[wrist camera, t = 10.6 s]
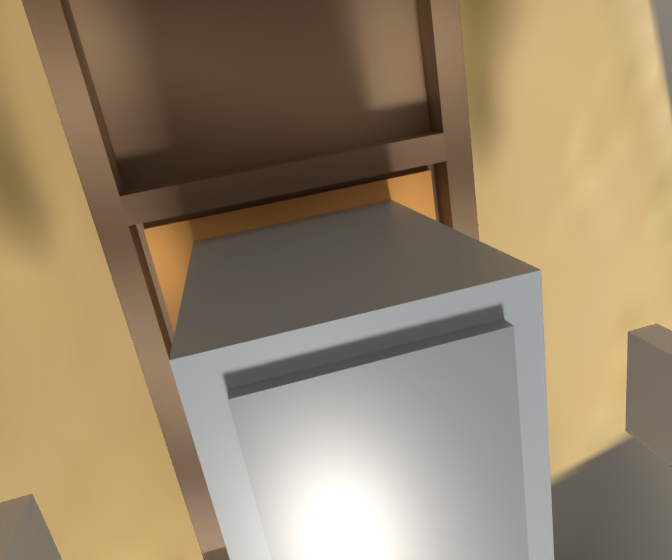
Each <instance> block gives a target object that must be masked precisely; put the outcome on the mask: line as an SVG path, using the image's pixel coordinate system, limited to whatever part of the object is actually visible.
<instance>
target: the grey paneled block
mask: <svg viewBox="0 0 672 560" xmlns="http://www.w3.org/2000/svg"><path fill="white" fill-rule="evenodd" d="M169 362H170V365H171V369H172V372H173V375H174V378H175V382H176V385H177V388H178V392H179V395H180V398H181V401H182V405H183V408H184V411H185V415H186V418H187V421H188V424H189V428H190V431H191V434H192V438H193V441H194V444H195V447H196V451H197V454H198V457H199V460H200V464H201V467H202V470H203V474H204V477H205V480H206V483H207V487H208V490H209V493H210V497H211V500H212V503H213V506H214V510H215V513H216V516H217V519H218V523H219V526H220V529H221V533H222V536H223V539H224V542H225V546H226V549H227V552H228V556H229V559H230V560H554V550H553V527H552V504H551V481H550V459H549V437H548V414H547V392H546V370H545V348H544V325H543V303H542V281H541V270H540V269H538V268H535V267H533V266H531V265H529V264H527V263H525V262H523V261H521V260H518V259H516V258H514V257H512V256H510V255H508V254H506V253H504V252H501V251H499V250H497V249H495V248H493V247H491V246H489V245H487V244H484V243H482V242H480V241H478V240H476V239H474V238H472V237H470V236H467V235H465V234H463V233H461V232H459V231H457V230H455V229H453V228H451V227H448V226H446V225H444V224H442V223H440V222H438V221H436V220H434V219H431V218H429V217H427V216H425V215H423V214H421V213H419V212H417V211H414V210H412V209H410V208H408V207H406V206H404V205H402V204H400V203H397V202H395V201H393V200H387V201H382V202H377V203H372V204H368V205H363V206H358V207H354V208H349V209H344V210H339V211H335V212H330V213H325V214H321V215H316V216H311V217H306V218H302V219H297V220H292V221H288V222H283V223H278V224H273V225H269V226H264V227H259V228H255V229H250V230H245V231H240V232H236V233H231V234H226V235H222V236H217V237H212V238H207V239H203V240H198V241H194V242H193V247H192V251H191V256H190V261H189V266H188V271H187V276H186V281H185V285H184V290H183V295H182V300H181V305H180V310H179V315H178V319H177V324H176V329H175V334H174V339H173V344H172V349H171V353H170V358H169Z"/></svg>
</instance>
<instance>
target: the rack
mask: <svg viewBox="0 0 672 560" xmlns="http://www.w3.org/2000/svg"><path fill="white" fill-rule="evenodd" d="M22 3H23V6H24V9H25V12H26V15H27V18H28V21H29V24H30V27H31V30H32V33H33V36H34V39H35V43H36V46H37V49H38V52H39V55H40V58H41V61H42V64H43V67H44V70H45V73H46V76H47V79H48V82H49V85H50V89H51V92H52V95H53V98H54V101H55V104H56V107H57V110H58V113H59V116H60V119H61V122H62V125H63V128H64V132H65V135H66V138H67V141H68V144H69V147H70V150H71V153H72V156H73V159H74V162H75V165H76V168H77V171H78V175H79V178H80V181H81V184H82V187H83V190H84V193H85V196H86V199H87V202H88V205H89V208H90V211H91V214H92V217H93V221H94V224H95V227H96V230H97V233H98V236H99V239H100V242H101V245H102V248H103V251H104V254H105V257H106V260H107V264H108V267H109V270H110V273H111V276H112V279H113V282H114V285H115V288H116V291H117V294H118V297H119V300H120V303H121V307H122V310H123V313H124V316H125V319H126V322H127V325H128V328H129V331H130V334H131V337H132V340H133V343H134V346H135V350H136V353H137V356H138V359H139V362H140V365H141V368H142V371H143V374H144V377H145V380H146V383H147V386H148V389H149V392H150V396H151V399H152V402H153V405H154V408H155V411H156V414H157V417H158V420H159V423H160V426H161V429H162V432H163V435H164V439H165V442H166V445H167V448H168V451H169V454H170V457H171V460H172V463H173V466H174V469H175V472H176V475H177V478H178V482H179V485H180V488H181V491H182V494H183V497H184V500H185V503H186V506H187V509H188V512H189V515H190V518H191V521H192V524H193V528H194V531H195V534H196V537H197V540H198V543H199V546H200V549H201V552H202V555H203V558H204V560H230V559H229V556H228V552H227V549H226V546H225V542H224V539H223V536H222V533H221V529H220V526H219V523H218V519H217V516H216V513H215V510H214V506H213V503H212V500H211V497H210V493H209V490H208V487H207V483H206V480H205V477H204V474H203V470H202V467H201V464H200V460H199V457H198V454H197V451H196V447H195V444H194V441H193V438H192V434H191V431H190V428H189V424H188V421H187V418H186V415H185V411H184V408H183V405H182V401H181V398H180V395H179V392H178V388H177V385H176V382H175V378H174V375H173V372H172V369H171V365H170V362H169V358H170V353H171V349H172V344H173V339H174V334H175V329H176V324H177V319H178V315H179V310H180V305H181V300H182V295H183V290H184V285H185V281H186V276H187V271H188V266H189V261H190V256H191V251H192V247H193V242H194V241H198V240H203V239H207V238H212V237H217V236H222V235H226V234H231V233H236V232H240V231H245V230H250V229H255V228H259V227H264V226H269V225H273V224H278V223H283V222H288V221H292V220H297V219H302V218H306V217H311V216H316V215H321V214H325V213H330V212H335V211H339V210H344V209H349V208H354V207H358V206H363V205H368V204H372V203H377V202H382V201H387V200H393V201H395V202H397V203H400V204H402V205H404V206H406V207H408V208H410V209H412V210H414V211H417V212H419V213H421V214H423V215H425V216H427V217H429V218H431V219H434V220H436V221H438V222H440V223H442V224H444V225H446V226H448V227H451V228H453V229H455V230H457V231H459V232H461V233H463V234H465V235H467V236H470V237H472V238H474V239H476V240H478V241H479V233H478V221H477V209H476V197H475V185H474V173H473V161H472V149H471V138H470V126H469V114H468V102H467V90H466V78H465V66H464V54H463V42H462V30H461V18H460V6H459V0H22Z"/></svg>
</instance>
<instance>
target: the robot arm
mask: <svg viewBox="0 0 672 560" xmlns="http://www.w3.org/2000/svg"><path fill="white" fill-rule="evenodd" d="M626 431H627V432H628V433H629V434H631V435H632V436H633V437H634V438H636V439H637V440H639V441H640V442H641V443H642V444H644V445H645V446H646V447H647V448H649V449H650V450H651V451H652V452H654V453H655V454H656V455H657V456H659V457H660V458H661V459H663V460H664V461H665V462H666V463H668V464H669V465H670V466H672V331H671V330H669V329H667V328H665V327H663V326H661V325H659V324H654V325H650V326H646V327H643V328H639V329H635V330H632V331H628V350H627V391H626ZM0 560H62V558H61V556H60V554H59V552H58V549H57V547H56V545H55V543H54V541H53V538H52V536H51V534H50V532H49V529H48V527H47V525H46V523H45V521H44V518H43V516H42V514H41V512H40V510H39V507H38V505H37V503H36V501H35V498H34V496H33V494H30V495H27V496H23V497H19V498H16V499H12V500H8V501H5V502H1V503H0Z"/></svg>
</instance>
